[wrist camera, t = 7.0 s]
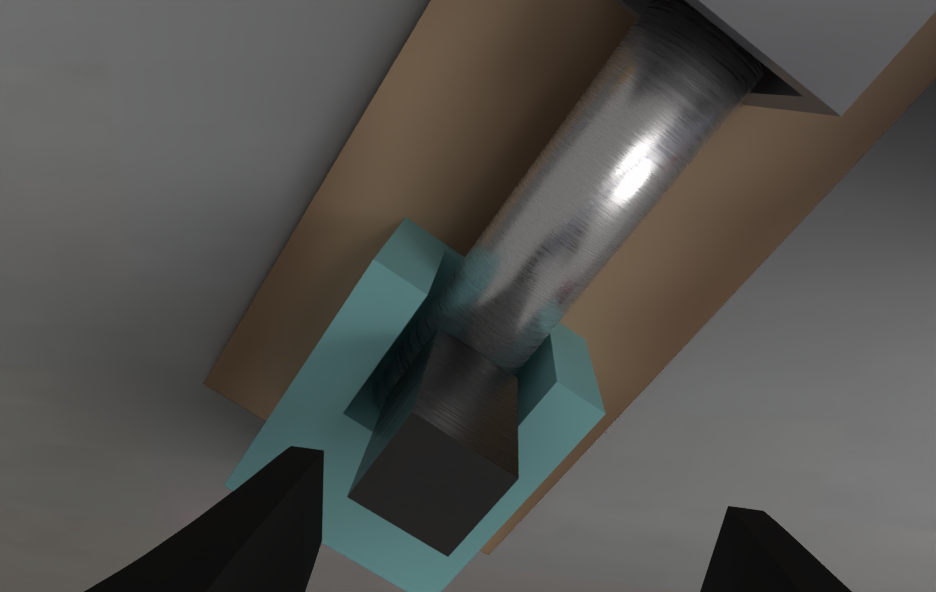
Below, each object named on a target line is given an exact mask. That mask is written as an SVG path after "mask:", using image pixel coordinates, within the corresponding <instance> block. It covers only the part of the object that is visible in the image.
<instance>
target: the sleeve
mask: <svg viewBox="0 0 936 592" xmlns="http://www.w3.org/2000/svg"><path fill="white" fill-rule="evenodd" d="M614 1H615V2H616V3H617V4H619V5H620V6H621V7H622V8H624V9H625V10H626V11H627V12H629V13H630V14H631V15H632V16H634V17H635V18H636V19H638V18H639V17H640V15H641V14H642V13H643V11H644V10H645V8H646V7H647V6H648V4H649V3H650V1H651V0H614ZM685 1H686V2H687V3H689V4H690V5H691V6H692V7H694V8H695V9H696V10H697V11H699V12H700V13H701V14H702V15H704V16H705V17H706V18H707V19H708V20H710V21H711V22H712V23H713V24H715V25H716V26H717V27H718V28H720V29H721V30H722V31H723V32H724V33H726V34H727V35H728V36H729V37H731V38H732V39H733V40H734V41H736V42H737V43H738V44H739V45H741V46H742V47H743V48H744V49H745V50H747V51H748V52H749V53H750V54H752V55H753V56H754V57H755V58H757V59H758V60H759V61H760V62H761V63H763V64H764V65H765V66H766V67H768V68H769V69H768V70H767V71H766V73H765V74H764V75H763V76H762V77H761V79H760V80H759V81H758V82H757V84H756V85H755V86H754V87H753V88H752V90H751V91H750V92H749V93H748V94H747V96H746V97H745V98H744V99H743V100H742V103H743V104H745V105H748V106H757V107H765V108H774V109H782V110H791V111H799V112H808V113H816V114H825V115H833V116H842V115H843V114H844V113H845V112H846V110H847V109H848V108H849V107H850V106H851V105H852V104H853V103H854V102H855V100H856V99H857V98H858V97H859V96H860V95H861V94H862V93H863V92H864V90H865V89H866V88H867V87H868V86H869V85H870V84H871V83H872V82H873V80H874V79H875V78H876V77H877V76H878V75H879V74H880V73H881V72H882V70H883V69H884V68H885V67H886V66H887V65H888V64H889V63H890V62H891V60H892V59H893V58H894V57H895V56H896V55H897V54H898V53H899V52H900V50H901V49H902V48H903V47H904V46H905V45H906V44H907V43H908V42H909V40H910V39H911V38H912V37H913V36H914V35H915V34H916V33H917V32H918V30H919V29H920V28H921V27H922V26H923V25H924V24H925V23H926V22H927V20H928V19H929V18H930V17H931V16H932V15H933V14H934V13H935V12H936V0H685Z"/></svg>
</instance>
